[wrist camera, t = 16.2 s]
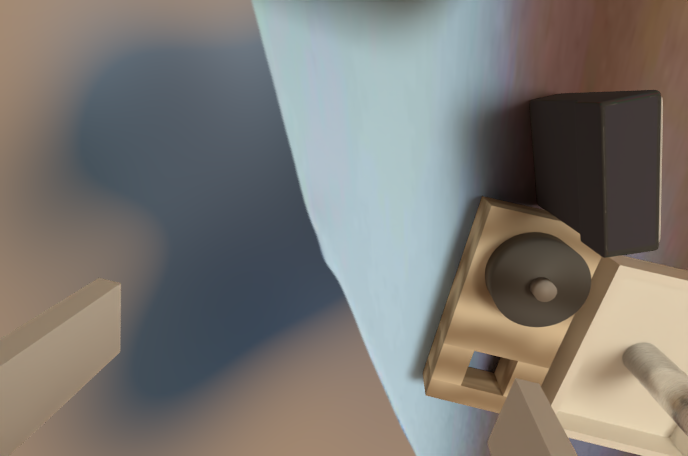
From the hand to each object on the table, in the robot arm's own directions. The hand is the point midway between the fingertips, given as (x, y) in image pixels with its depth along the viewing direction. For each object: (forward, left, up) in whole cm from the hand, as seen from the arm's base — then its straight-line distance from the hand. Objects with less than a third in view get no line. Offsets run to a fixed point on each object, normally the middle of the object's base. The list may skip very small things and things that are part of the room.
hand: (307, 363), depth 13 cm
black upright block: (-7, +18, -32) cm, 37 cm away
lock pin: (+13, +36, -31) cm, 49 cm away
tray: (+13, +36, -32) cm, 50 cm away
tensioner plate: (+11, +19, -32) cm, 39 cm away
